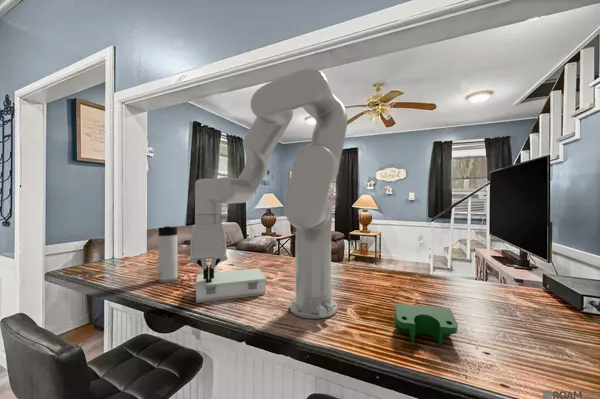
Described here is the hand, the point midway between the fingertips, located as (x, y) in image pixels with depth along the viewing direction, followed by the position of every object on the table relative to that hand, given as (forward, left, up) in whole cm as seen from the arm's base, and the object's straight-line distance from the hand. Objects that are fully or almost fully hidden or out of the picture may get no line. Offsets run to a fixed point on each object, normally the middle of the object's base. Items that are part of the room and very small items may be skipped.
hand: (208, 281), depth 78 cm
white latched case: (+3, -7, -5) cm, 9 cm away
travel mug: (+23, +14, -5) cm, 28 cm away
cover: (+2, -7, -1) cm, 7 cm away
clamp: (-39, -43, -5) cm, 59 cm away
